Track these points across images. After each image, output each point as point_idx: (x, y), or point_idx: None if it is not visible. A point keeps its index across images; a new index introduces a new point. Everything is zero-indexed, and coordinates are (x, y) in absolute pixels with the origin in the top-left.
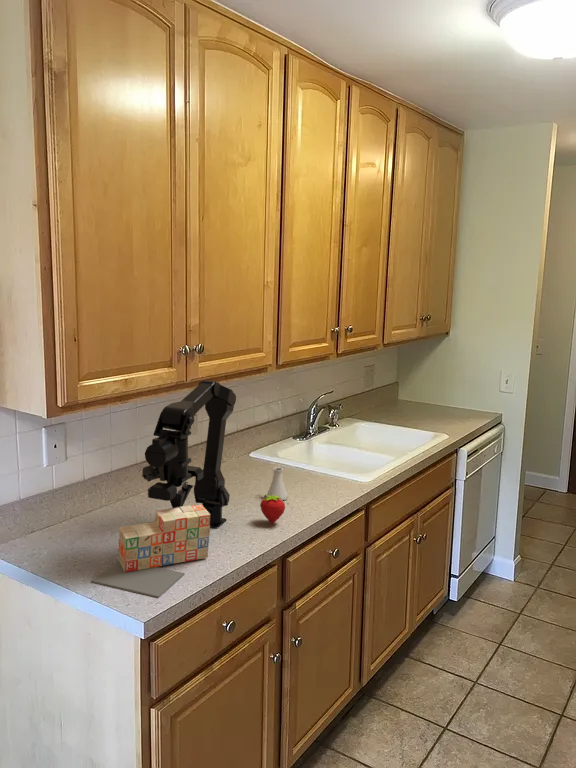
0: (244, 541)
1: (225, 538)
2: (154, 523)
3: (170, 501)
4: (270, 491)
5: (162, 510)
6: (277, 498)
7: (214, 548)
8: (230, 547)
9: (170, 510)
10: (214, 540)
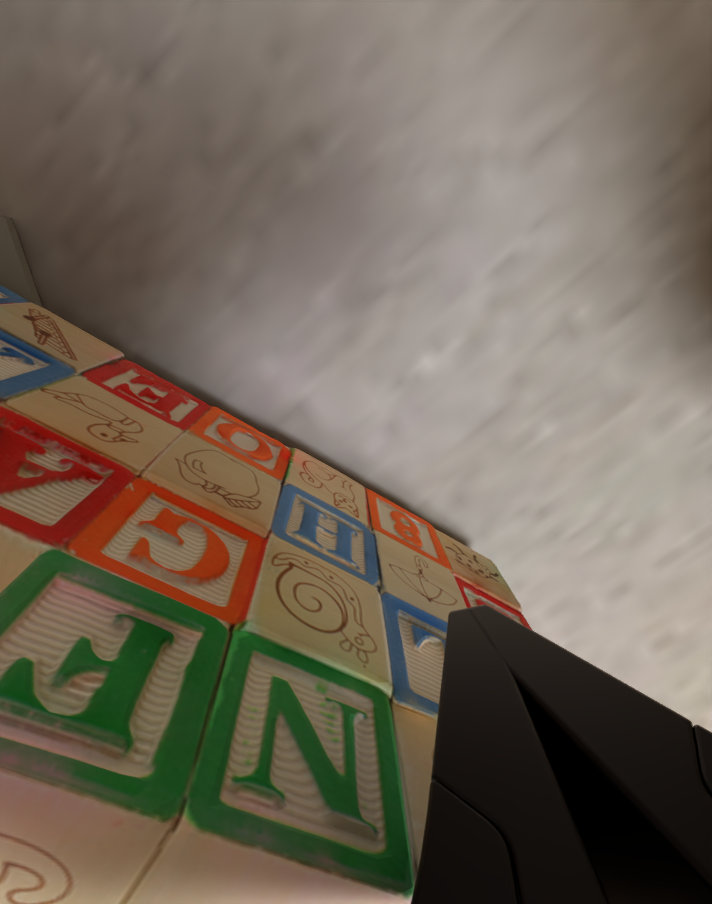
0: (704, 674)
1: (697, 572)
2: (6, 573)
3: (428, 832)
4: None
5: (23, 811)
6: None
7: (545, 606)
8: (600, 663)
9: (174, 896)
10: (644, 539)
